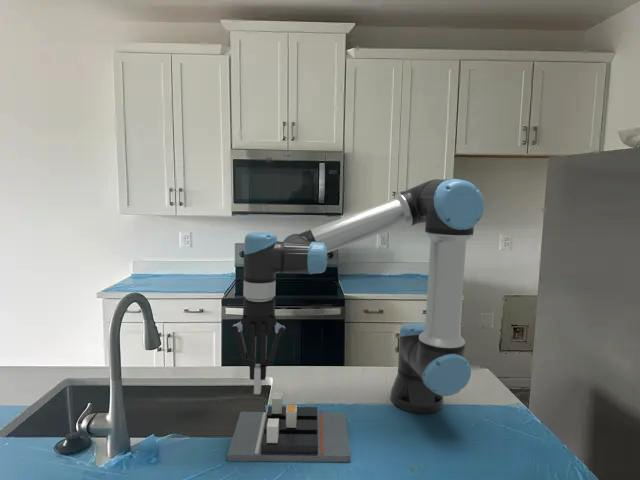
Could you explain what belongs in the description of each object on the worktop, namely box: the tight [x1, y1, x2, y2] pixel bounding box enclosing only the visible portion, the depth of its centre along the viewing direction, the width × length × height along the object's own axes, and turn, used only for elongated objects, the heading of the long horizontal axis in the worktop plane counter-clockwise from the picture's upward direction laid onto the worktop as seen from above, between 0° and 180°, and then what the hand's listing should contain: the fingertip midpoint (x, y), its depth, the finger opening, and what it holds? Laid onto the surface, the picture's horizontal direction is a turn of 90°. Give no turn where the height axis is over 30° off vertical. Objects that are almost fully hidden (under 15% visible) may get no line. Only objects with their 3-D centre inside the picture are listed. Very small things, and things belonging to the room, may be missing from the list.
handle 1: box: [271, 392, 284, 414], centre depth 116 cm, size 2×4×4 cm
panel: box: [226, 405, 352, 463], centre depth 110 cm, size 28×19×4 cm
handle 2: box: [267, 418, 279, 443], centre depth 103 cm, size 2×4×4 cm
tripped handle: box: [286, 404, 298, 428], centre depth 109 cm, size 2×4×4 cm
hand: (257, 391), depth 108 cm, fingers closed
